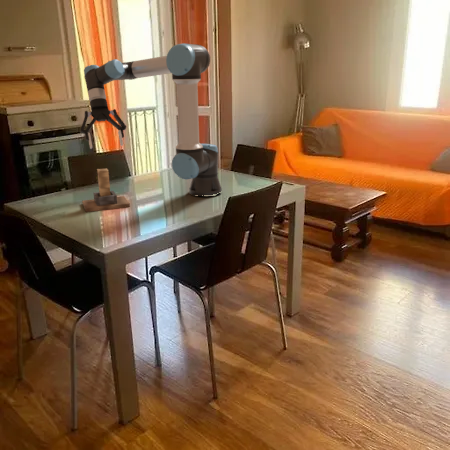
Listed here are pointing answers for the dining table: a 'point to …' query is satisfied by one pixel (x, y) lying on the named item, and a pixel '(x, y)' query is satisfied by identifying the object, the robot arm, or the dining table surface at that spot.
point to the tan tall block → (103, 182)
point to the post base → (105, 202)
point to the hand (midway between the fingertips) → (106, 146)
